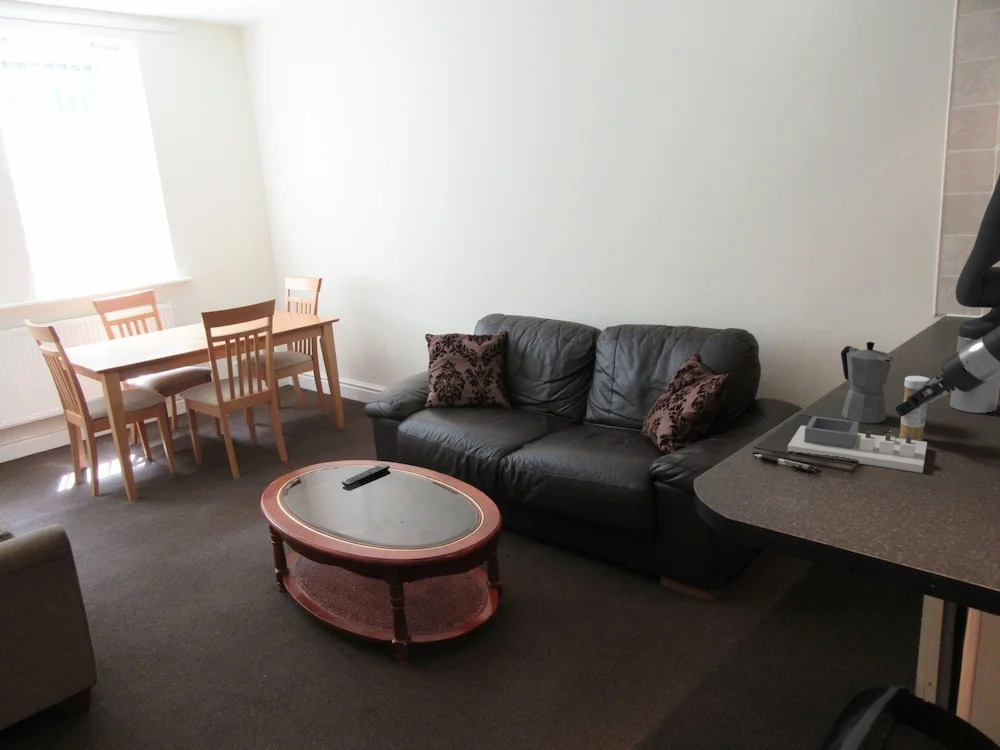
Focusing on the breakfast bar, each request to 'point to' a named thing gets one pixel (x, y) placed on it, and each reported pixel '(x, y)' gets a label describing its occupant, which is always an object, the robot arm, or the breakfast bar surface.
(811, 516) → the breakfast bar surface
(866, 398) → the coffeepot
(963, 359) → the robot arm
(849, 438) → the breaker panel
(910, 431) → the sprinkles bottle
